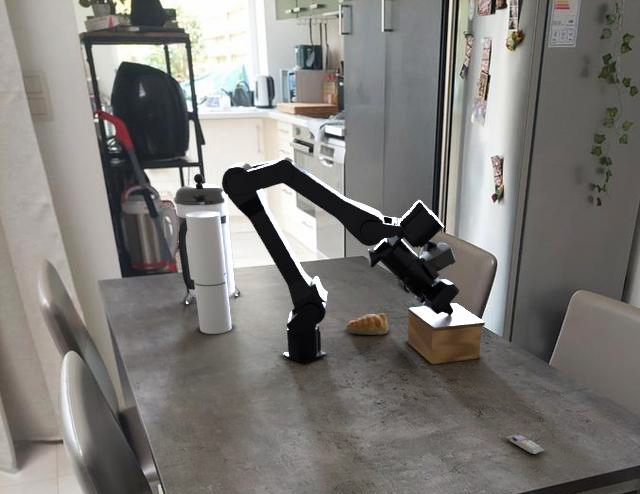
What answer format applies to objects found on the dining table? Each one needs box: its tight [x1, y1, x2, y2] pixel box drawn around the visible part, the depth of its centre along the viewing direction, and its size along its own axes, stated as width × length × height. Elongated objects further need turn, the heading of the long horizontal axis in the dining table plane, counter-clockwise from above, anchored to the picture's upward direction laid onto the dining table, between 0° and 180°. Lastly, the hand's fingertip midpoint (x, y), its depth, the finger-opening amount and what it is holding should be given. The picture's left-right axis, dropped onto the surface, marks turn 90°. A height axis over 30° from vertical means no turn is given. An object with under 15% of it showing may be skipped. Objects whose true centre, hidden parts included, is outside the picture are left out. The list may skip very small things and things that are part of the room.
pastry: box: [345, 312, 389, 336], centre depth 158 cm, size 9×7×4 cm
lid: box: [407, 303, 486, 331], centre depth 145 cm, size 11×14×1 cm
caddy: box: [407, 312, 483, 365], centre depth 146 cm, size 11×14×7 cm
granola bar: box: [506, 433, 545, 455], centre depth 111 cm, size 7×2×1 cm, turn 31°
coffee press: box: [173, 173, 241, 305], centre depth 171 cm, size 17×16×30 cm
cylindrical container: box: [186, 211, 232, 335], centre depth 154 cm, size 7×7×25 cm
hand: (451, 312), depth 145 cm, fingers closed, pressing on lid
